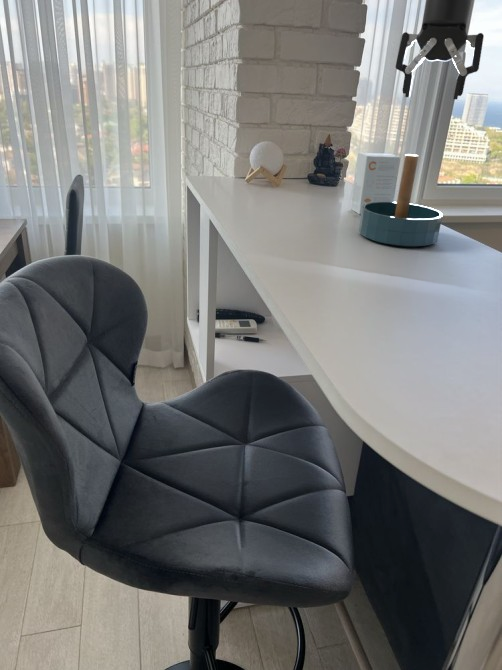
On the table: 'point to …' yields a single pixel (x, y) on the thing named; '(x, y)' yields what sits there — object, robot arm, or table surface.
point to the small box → (374, 179)
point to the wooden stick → (406, 185)
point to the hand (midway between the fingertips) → (430, 98)
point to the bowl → (400, 224)
